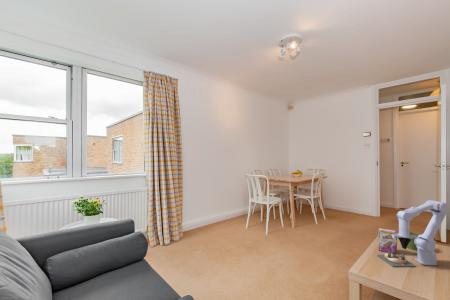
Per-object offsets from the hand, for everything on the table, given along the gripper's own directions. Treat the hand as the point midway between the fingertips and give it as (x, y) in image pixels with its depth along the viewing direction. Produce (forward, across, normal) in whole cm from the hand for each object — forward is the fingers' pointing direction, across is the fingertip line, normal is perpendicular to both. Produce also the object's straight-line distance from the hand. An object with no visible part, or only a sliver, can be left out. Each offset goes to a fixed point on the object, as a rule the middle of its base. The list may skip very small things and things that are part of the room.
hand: (404, 248), depth 146 cm
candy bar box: (+10, 0, -17) cm, 20 cm away
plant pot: (+10, -23, -24) cm, 35 cm away
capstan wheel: (+9, +4, -2) cm, 10 cm away
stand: (+10, +4, -2) cm, 11 cm away
